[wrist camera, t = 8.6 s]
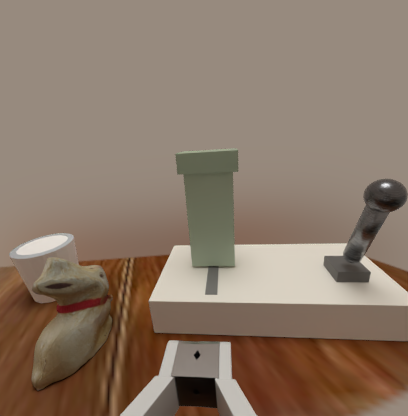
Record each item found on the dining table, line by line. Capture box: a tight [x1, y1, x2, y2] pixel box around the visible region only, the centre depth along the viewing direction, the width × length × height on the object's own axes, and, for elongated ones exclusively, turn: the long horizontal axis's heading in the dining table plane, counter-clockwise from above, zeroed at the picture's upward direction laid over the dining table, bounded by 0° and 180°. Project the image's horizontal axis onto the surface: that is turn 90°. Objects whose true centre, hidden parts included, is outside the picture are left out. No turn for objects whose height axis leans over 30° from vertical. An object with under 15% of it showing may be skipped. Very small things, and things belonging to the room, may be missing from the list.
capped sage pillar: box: [176, 149, 238, 266], centre depth 24 cm, size 6×3×13 cm, turn 85°
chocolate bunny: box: [32, 257, 113, 391], centre depth 19 cm, size 6×8×10 cm
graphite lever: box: [343, 179, 408, 264], centre depth 18 cm, size 3×3×9 cm
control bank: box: [149, 243, 408, 341], centre depth 25 cm, size 24×11×5 cm, turn 85°
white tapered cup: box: [9, 233, 79, 303], centre depth 28 cm, size 7×7×7 cm
